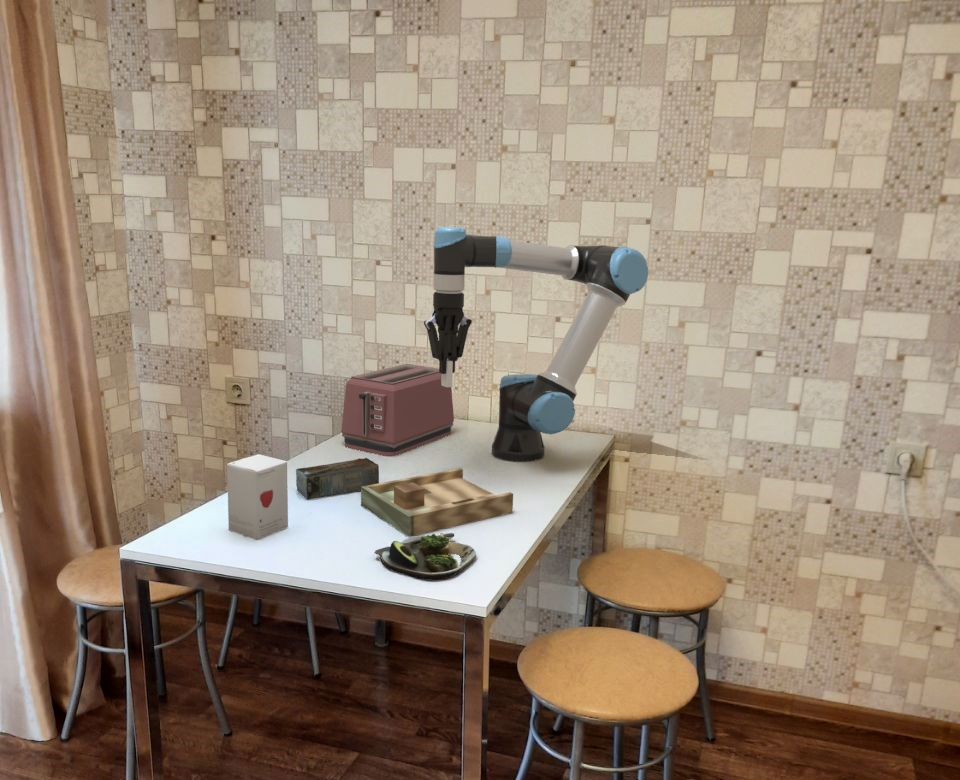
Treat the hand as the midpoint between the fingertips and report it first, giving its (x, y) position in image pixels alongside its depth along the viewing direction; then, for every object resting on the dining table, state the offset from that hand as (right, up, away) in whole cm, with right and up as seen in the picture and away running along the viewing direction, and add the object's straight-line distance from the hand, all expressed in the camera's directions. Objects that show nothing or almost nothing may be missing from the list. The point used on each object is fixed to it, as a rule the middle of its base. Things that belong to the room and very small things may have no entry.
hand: (446, 386), depth 202 cm
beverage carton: (-26, -26, -5) cm, 37 cm away
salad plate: (-2, -35, -43) cm, 56 cm away
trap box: (-2, -28, -16) cm, 33 cm away
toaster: (-16, -16, +39) cm, 45 cm away
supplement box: (-39, -31, -31) cm, 58 cm away
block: (-8, -27, -21) cm, 35 cm away
